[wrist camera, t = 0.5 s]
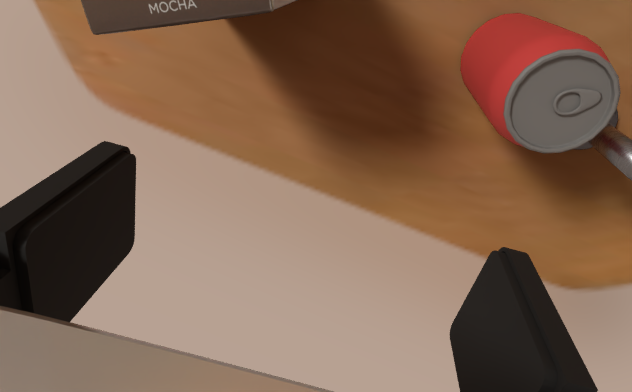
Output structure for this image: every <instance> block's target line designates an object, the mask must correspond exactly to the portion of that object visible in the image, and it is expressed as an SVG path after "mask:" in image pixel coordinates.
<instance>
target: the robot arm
mask: <svg viewBox="0 0 632 392" xmlns="http://www.w3.org/2000/svg"><path fill="white" fill-rule="evenodd" d="M135 184H136V158H135V155H133V154H130V150H129V148H128V147H125V146H121V145H118V144H114V143H110V142H106V141H104V142H102V143H100V144H98V145H97V146H95V147H93V148H92V149H90V150H89V151H87V152H86V153H84V154H83V155H81V156H80V157H78V158H77V159H75V160H73V161H72V162H70V163H69V164H67V165H66V166H64V167H63V168H61V169H60V170H58V171H57V172H55V173H53V174H52V175H50V176H49V177H47V178H46V179H44V180H43V181H41V182H40V183H38V184H36V185H35V186H33V187H32V188H30V189H29V190H27V191H26V192H24V193H23V194H21V195H20V196H18V197H16V198H15V199H13V200H12V201H10V202H9V203H7V204H6V205H4V206H2V207H1V208H0V392H333V391H329V390H325V389H322V388H318V387H314V386H311V385H307V384H303V383H300V382H295V381H292V380H288V379H285V378H281V377H277V376H273V375H269V374H266V373H262V372H258V371H254V370H251V369H247V368H243V367H239V366H236V365H232V364H228V363H224V362H220V361H217V360H213V359H209V358H205V357H202V356H198V355H194V354H190V353H186V352H182V351H179V350H175V349H171V348H167V347H163V346H159V345H155V344H151V343H148V342H144V341H140V340H136V339H132V338H129V337H124V336H121V335H117V334H113V333H109V332H105V331H102V330H98V329H94V328H90V327H86V326H82V325H78V324H74V323H70V321H71V320H72V319H73V317H74V316H75V315H76V314H77V313H78V312H79V310H80V309H81V308H82V307H83V306H84V305H85V304H86V302H87V301H88V300H89V299H90V298H91V297H92V295H93V294H94V293H95V292H96V291H97V290H98V288H99V287H100V286H101V285H102V284H103V283H104V281H105V280H106V279H107V278H108V277H109V276H110V274H111V273H112V272H113V271H114V270H115V269H116V268H117V266H118V265H119V264H120V263H121V262H122V261H123V259H124V258H125V257H126V256H127V255H128V254H129V252H130V250H131V249H132V247H133V244H134V236H135V231H134V230H135V186H136V185H135ZM450 340H451V346H452V351H453V356H454V362H455V367H456V372H457V377H458V382H459V388H460V392H597V391H598V389H597V387H596V386H595V384H594V382H593V380H592V378H591V376H590V374H589V372H588V370H587V368H586V366H585V364H584V362H583V360H582V358H581V356H580V355H579V353H578V351H577V349H576V347H575V345H574V343H573V341H572V339H571V337H570V335H569V333H568V331H567V329H566V327H565V325H564V324H563V322H562V320H561V317H560V315H559V314H558V312H557V310H556V308H555V306H554V304H553V302H552V300H551V298H550V296H549V294H548V292H547V290H546V289H545V286H544V284H543V282H542V280H541V279H540V277H539V275H538V273H537V271H536V269H535V267H534V265H533V263H532V261H531V259H530V257H529V255H528V254H527V253H524V252H521V251H517V250H513V249H509V248H506V247H503V248H501V249H500V250H499V251H492V252H491V254H490V255H489V257H488V259H487V261H486V263H485V264H484V266H483V268H482V270H481V272H480V273H479V275H478V277H477V279H476V281H475V283H474V284H473V286H472V288H471V290H470V292H469V294H468V295H467V297H466V299H465V301H464V303H463V305H462V307H461V308H460V310H459V312H458V314H457V316H456V318H455V319H454V321H453V323H452V325H451V329H450Z"/></svg>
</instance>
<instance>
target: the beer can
mask: <svg viewBox="0 0 632 392" xmlns="http://www.w3.org/2000/svg"><path fill="white" fill-rule="evenodd" d="M461 74H462V77H463V81H464V84H465V85H466V87H467V88H468V90H469V91H470V92H471V94H472V95H473V97H474V98H475V100H476V101H477V103H478V104H479V106H480V107H481V109H482V110H483V112H484V113H485V115H486V116H487V118H488V119H489V121H490V122H491V124H492V125H493V126H494V128H495V129H496V131H497V132H498V133H499V134H500V135H501V136H503V137H505V138H506V139H508V140H509V141H511V142H512V143H514V144H516V145H519V146H523V147H525V148H527V149H529V150H533V151H536V152H540V153H561V152H565V151H568V150H571V149H575V148H578V147H580V146H581V145H583V144H585V143H586V142H588V141H590V140H592V139H593V138H594V137H595V136H597V135H598V134H599V133H600V132H601V131H602V130H603V129H604V128H605V127H606V126H607V125H608V123H609V121H610V120H611V118H612V116H613V115H614V113H615V111H616V109H617V105H618V101H619V97H620V86H619V77H618V75H617V74H616V72H615V70H614V68H613V67H612V65H611V63H610V62H609V60H608V58H607V57H606V55H605V53H604V52H603V50H602V49H601V47H599V46H598V45H597V44H595V43H594V42H592V41H591V40H590V39H588V38H587V37H585V36H583V35H580V34H577V33H575V32H572V31H570V30H567V29H564V28H562V27H559V26H556V25H554V24H551V23H548V22H546V21H543V20H540V19H538V18H535V17H532V16H528V15H524V14H521V13H514V14H503V15H501V16H498V17H496V18H493V19H491V20H489V21H487V22H486V23H485V24H483V25H482V26H481V27H480V28H478V29H477V30H476V31H475V32H474V34H473V35H472V36H471V38H470V39H469V40H468V42H467V43H466V46H465V48H464V51H463V54H462V56H461Z"/></svg>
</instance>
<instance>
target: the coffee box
mask: <svg viewBox="0 0 632 392" xmlns="http://www.w3.org/2000/svg"><path fill="white" fill-rule="evenodd" d="M294 1H297V0H81V2H82V5H83V8H84V11H85V14H86V17H87V20H88V23H89V26H90V29H91V31H92V33H93V34H96V35H99V34H110V33H119V32H127V31H135V30H142V29H150V28H158V27H166V26H174V25H182V24H189V23H197V22H204V21H211V20H219V19H227V18H235V17H243V16H250V15H256V14H263V13H268V12H272V11H274V10H275V9H278V8H280V7H283V6H285V5H288V4H290V3H292V2H294Z"/></svg>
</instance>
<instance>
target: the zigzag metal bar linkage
mask: <svg viewBox="0 0 632 392" xmlns="http://www.w3.org/2000/svg"><path fill="white" fill-rule="evenodd" d="M617 120H618V112H617V109H616V111H615V113H614V115H613V116H612V118H611V120H610V121H609V123H608V125H607V126H606V127H605V128H604V129H603V130H602V131H601V132H600V133H599V134H598V135H597V136H595V137H594V138H593V139H592V140H590V141H588V142H586V143H585V144H583V145H581V146H580V147H578V148H575V149H580V150H581V149H588V148H591V147H594V148H595V149H596V150H597V151H599V152H600V153H601V154H602V155H603V156H604V157H605V158H606V159H608V160H609V161H610V162H611V163H612V164H613V165H614V166H616V167H617V168H618V169H619V170H620V171H621V172H622V173H623V174H625V175H626V176H627V177H628V178H629V179H630V180H632V140H631V139H630V138H628V137H627V136H626V135H624V134H623V133H621V132H620V131H619V130H617V129H616V128H615V127H616V124H617Z"/></svg>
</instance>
